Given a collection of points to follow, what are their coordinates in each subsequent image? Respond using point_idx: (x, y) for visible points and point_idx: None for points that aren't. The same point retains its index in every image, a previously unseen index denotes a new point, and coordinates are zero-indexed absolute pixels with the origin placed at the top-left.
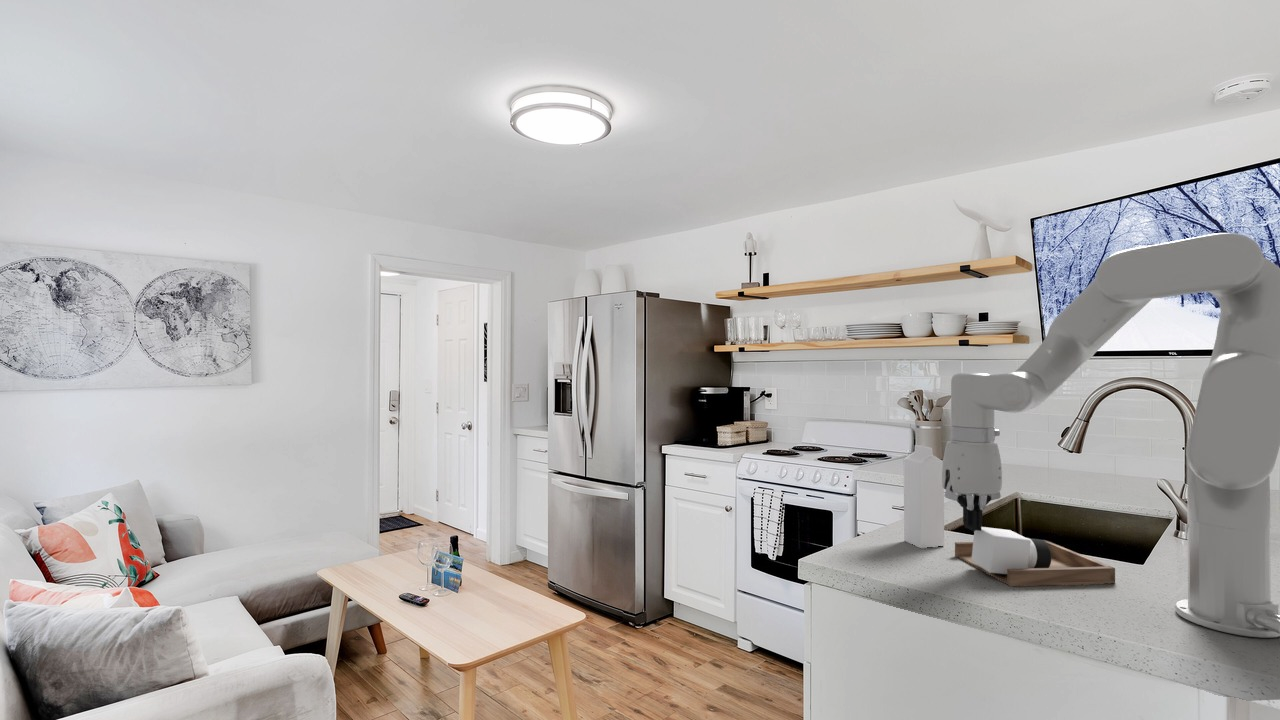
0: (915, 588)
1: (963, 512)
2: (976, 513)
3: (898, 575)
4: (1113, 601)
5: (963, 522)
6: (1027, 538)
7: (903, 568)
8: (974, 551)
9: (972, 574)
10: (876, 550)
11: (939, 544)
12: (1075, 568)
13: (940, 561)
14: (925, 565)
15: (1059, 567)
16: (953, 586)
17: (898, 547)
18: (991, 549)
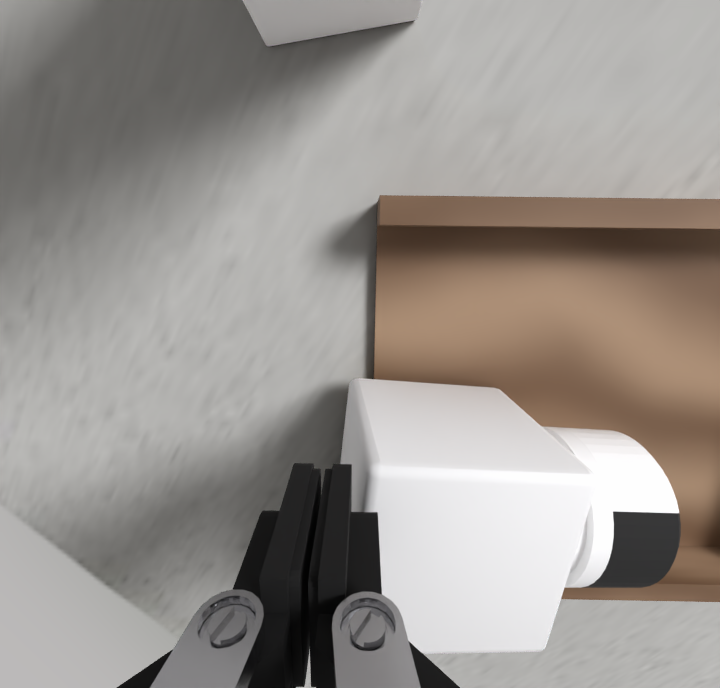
0: (50, 534)
1: (239, 578)
2: (305, 668)
3: (26, 420)
4: (582, 658)
5: (262, 514)
6: (599, 560)
7: (69, 347)
8: (350, 421)
9: (313, 433)
10: (10, 59)
11: (386, 19)
12: (636, 595)
13: (267, 272)
14: (176, 319)
15: (693, 426)
16: (183, 529)
17: (149, 7)
18: None
